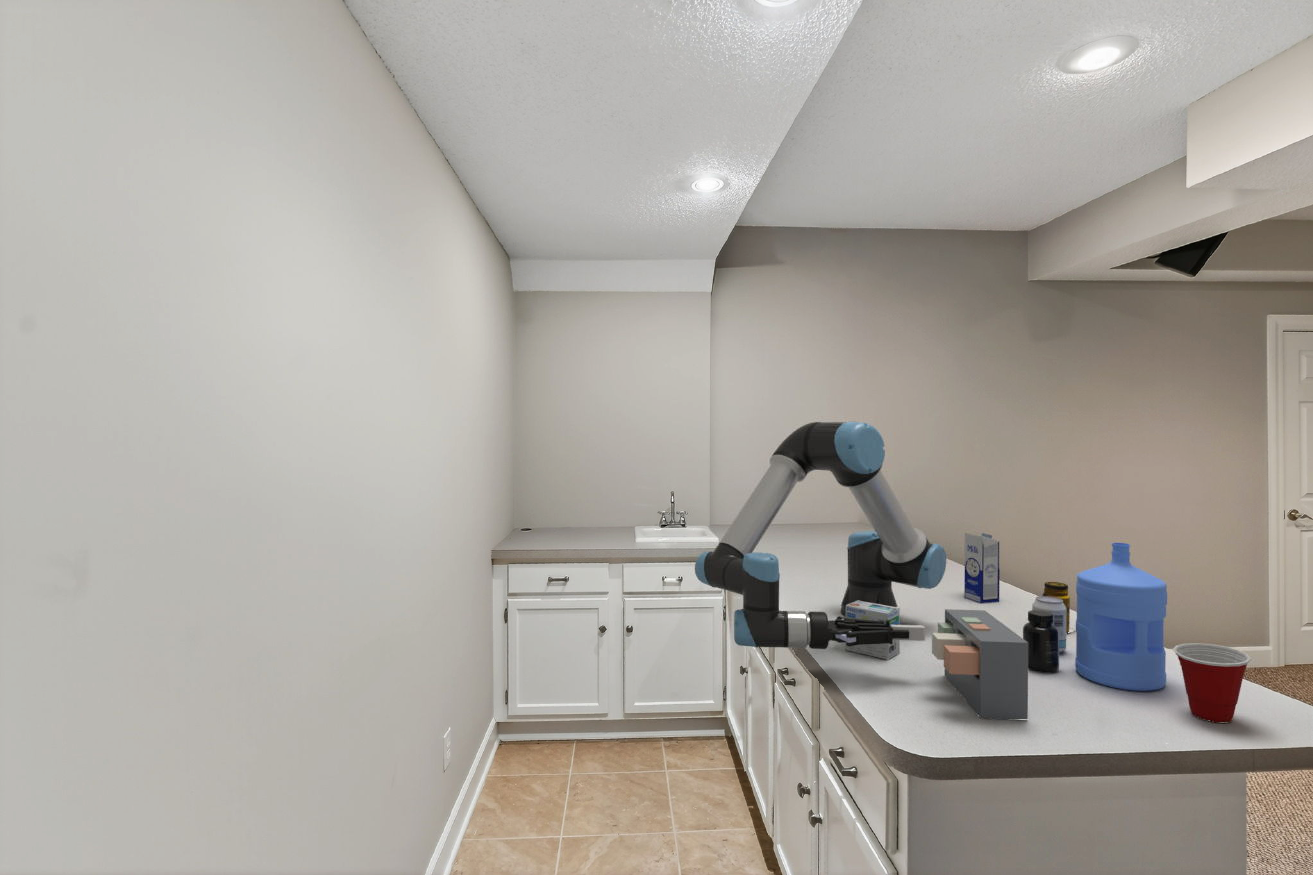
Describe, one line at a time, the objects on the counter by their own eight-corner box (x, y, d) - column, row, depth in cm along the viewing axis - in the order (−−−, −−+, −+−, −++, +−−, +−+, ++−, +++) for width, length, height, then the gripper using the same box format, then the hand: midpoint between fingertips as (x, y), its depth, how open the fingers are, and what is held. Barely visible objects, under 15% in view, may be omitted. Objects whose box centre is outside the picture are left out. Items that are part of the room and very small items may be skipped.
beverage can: (1064, 647, 160) (1064, 597, 160) (1067, 657, 154) (1068, 604, 154) (1030, 643, 163) (1031, 594, 163) (1033, 652, 157) (1033, 601, 156)
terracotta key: (950, 673, 123) (950, 652, 123) (943, 666, 127) (943, 645, 127) (990, 675, 123) (990, 653, 123) (982, 667, 126) (982, 646, 126)
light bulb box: (900, 653, 157) (901, 606, 157) (888, 660, 152) (888, 613, 152) (857, 643, 164) (857, 598, 164) (844, 650, 159) (844, 604, 159)
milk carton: (963, 597, 206) (964, 532, 206) (981, 595, 208) (982, 531, 208) (981, 603, 199) (982, 535, 199) (999, 601, 201) (1000, 534, 201)
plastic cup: (1157, 705, 127) (1158, 642, 127) (1210, 703, 128) (1211, 640, 128) (1209, 731, 117) (1210, 662, 116) (1266, 729, 118) (1268, 660, 117)
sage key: (943, 647, 138) (943, 627, 138) (937, 641, 142) (938, 622, 142) (979, 648, 137) (979, 628, 137) (972, 642, 141) (973, 623, 141)
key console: (980, 718, 122) (981, 639, 122) (944, 675, 143) (944, 607, 143) (1027, 720, 121) (1028, 641, 121) (984, 676, 142) (984, 608, 142)
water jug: (1059, 664, 149) (1061, 537, 149) (1132, 664, 149) (1134, 537, 148) (1104, 692, 134) (1106, 550, 133) (1185, 693, 133) (1187, 551, 133)
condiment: (1076, 631, 173) (1077, 584, 173) (1059, 637, 168) (1060, 589, 168) (1047, 624, 179) (1047, 579, 179) (1030, 629, 174) (1030, 583, 174)
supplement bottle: (1055, 664, 149) (1055, 610, 149) (1062, 675, 143) (1063, 618, 143) (1020, 660, 152) (1020, 607, 151) (1025, 671, 145) (1026, 615, 145)
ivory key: (937, 659, 131) (937, 638, 131) (931, 652, 135) (932, 632, 135) (975, 660, 130) (975, 640, 130) (968, 654, 134) (968, 634, 134)
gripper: (804, 637, 149) (914, 641, 147) (811, 658, 136) (933, 662, 134) (804, 603, 149) (915, 606, 147) (811, 621, 136) (933, 624, 134)
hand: (923, 633), depth 140 cm, fingers closed
